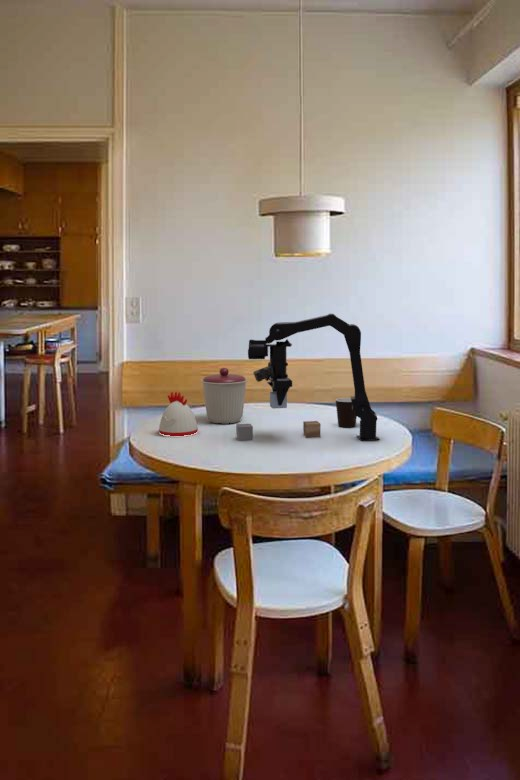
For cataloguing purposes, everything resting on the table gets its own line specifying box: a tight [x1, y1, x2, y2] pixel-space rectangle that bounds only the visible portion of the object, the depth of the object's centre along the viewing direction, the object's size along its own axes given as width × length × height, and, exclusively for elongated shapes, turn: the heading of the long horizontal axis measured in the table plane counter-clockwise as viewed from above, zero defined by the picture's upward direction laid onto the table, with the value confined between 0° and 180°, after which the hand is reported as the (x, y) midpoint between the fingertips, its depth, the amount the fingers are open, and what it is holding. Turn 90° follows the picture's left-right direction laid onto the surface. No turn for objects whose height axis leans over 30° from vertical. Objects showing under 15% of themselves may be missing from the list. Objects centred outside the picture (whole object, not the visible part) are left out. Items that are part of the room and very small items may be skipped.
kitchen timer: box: [158, 391, 199, 436], centre depth 266 cm, size 14×14×15 cm
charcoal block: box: [235, 423, 254, 442], centre depth 256 cm, size 5×5×5 cm
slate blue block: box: [269, 391, 288, 410], centre depth 257 cm, size 5×5×5 cm
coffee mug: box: [335, 397, 358, 429], centre depth 277 cm, size 12×9×10 cm
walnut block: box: [302, 420, 321, 439], centre depth 260 cm, size 5×5×5 cm
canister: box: [200, 367, 249, 425], centre depth 286 cm, size 18×18×21 cm
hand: (278, 404), depth 257 cm, fingers closed on slate blue block, 5 cm apart
